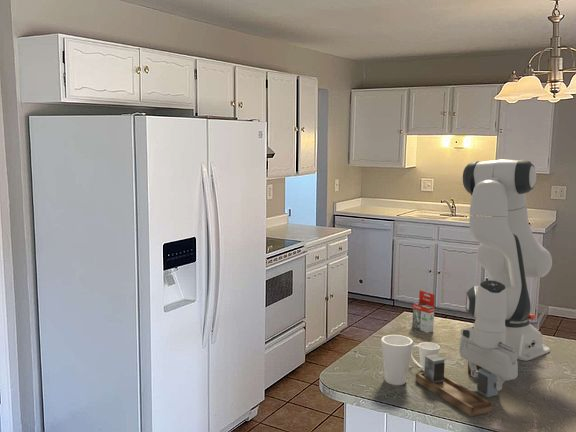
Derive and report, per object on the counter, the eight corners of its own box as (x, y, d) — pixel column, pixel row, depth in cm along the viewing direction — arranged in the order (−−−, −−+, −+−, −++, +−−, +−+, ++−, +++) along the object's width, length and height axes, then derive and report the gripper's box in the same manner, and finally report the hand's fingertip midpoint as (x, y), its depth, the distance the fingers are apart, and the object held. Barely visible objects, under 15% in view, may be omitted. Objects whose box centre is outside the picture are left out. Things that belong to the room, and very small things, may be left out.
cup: (432, 376, 179) (433, 351, 178) (404, 367, 186) (405, 343, 185) (443, 369, 184) (444, 345, 183) (415, 360, 191) (416, 337, 190)
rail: (415, 381, 175) (417, 354, 174) (434, 377, 178) (435, 351, 177) (471, 416, 154) (473, 386, 153) (490, 411, 157) (492, 382, 156)
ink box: (427, 333, 217) (429, 296, 215) (411, 327, 224) (413, 291, 222) (433, 331, 220) (435, 294, 217) (417, 325, 226) (419, 289, 224)
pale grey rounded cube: (487, 389, 171) (489, 366, 170) (497, 394, 167) (499, 371, 166) (475, 391, 169) (477, 369, 168) (485, 397, 165) (487, 374, 164)
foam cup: (405, 389, 169) (407, 348, 168) (375, 383, 174) (377, 342, 172) (414, 377, 178) (416, 338, 176) (385, 371, 182) (387, 332, 180)
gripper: (525, 348, 157) (521, 395, 159) (473, 325, 176) (470, 368, 178) (507, 351, 155) (504, 399, 157) (457, 327, 173) (454, 371, 175)
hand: (485, 382), depth 167 cm, fingers open, 8 cm apart
